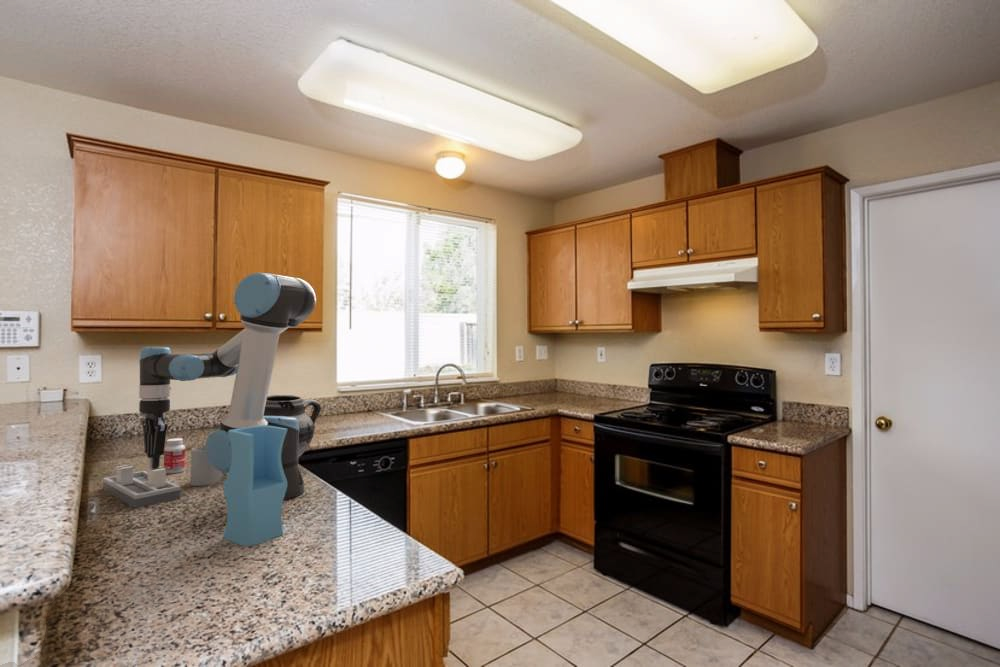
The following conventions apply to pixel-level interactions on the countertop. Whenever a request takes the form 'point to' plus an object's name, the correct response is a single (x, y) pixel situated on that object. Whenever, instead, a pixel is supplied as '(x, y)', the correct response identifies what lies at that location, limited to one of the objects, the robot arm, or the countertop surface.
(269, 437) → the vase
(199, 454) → the mug
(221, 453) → the robot arm
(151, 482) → the fader
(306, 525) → the countertop surface
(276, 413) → the ceramic pot
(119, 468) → the fader
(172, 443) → the pill bottle
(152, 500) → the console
